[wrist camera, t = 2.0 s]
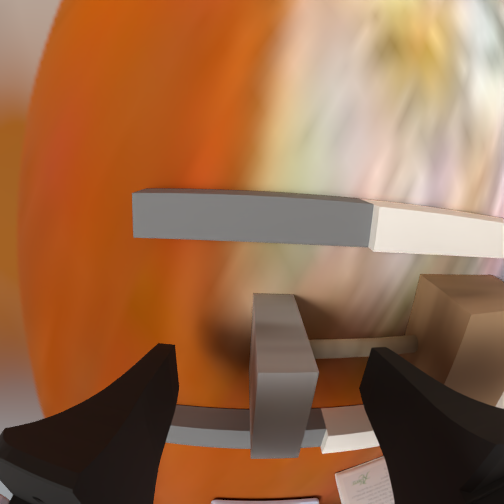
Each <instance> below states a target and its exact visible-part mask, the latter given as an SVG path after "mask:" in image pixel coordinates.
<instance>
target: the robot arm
mask: <svg viewBox="0 0 504 504" xmlns="http://www.w3.org/2000/svg"><path fill="white" fill-rule="evenodd" d="M359 389H360V393H361V397H362V401H363V405H364V409H365V411H366V414H367V416H368V419H369V421H370V424H371V426H372V428H373V431H374V433H375V436H376V438H377V440H378V443H379V445H380V448H381V450H382V452H383V455H384V458H385V461H386V465H387V469H388V473H389V477H390V481H391V486H392V491H393V496H394V502H395V504H504V409H502V408H498V407H495V406H491V405H488V404H485V403H483V402H480V401H477V400H474V399H472V398H470V397H467V396H465V395H463V394H461V393H459V392H457V391H455V390H453V389H451V388H449V387H447V386H445V385H444V384H442V383H440V382H439V381H437V380H435V379H434V378H432V377H431V376H429V375H427V374H426V373H424V372H423V371H421V370H420V369H418V368H417V367H416V366H414V365H413V364H411V363H410V362H408V361H407V360H405V359H404V358H403V357H401V356H400V355H398V354H397V353H395V352H394V351H392V350H390V349H389V348H387V347H374V348H371V351H370V355H369V358H368V362H367V365H366V369H365V372H364V375H363V378H362V382H361V385H360V388H359ZM178 391H179V382H178V373H177V363H176V352H175V345H171V344H160V343H158V344H157V345H156V346H155V347H154V348H153V349H151V350H150V351H149V352H148V353H147V354H146V355H145V356H144V357H143V358H142V359H141V360H140V361H138V362H137V363H136V364H135V365H134V366H133V367H132V368H130V369H129V370H128V371H127V372H126V373H125V374H123V375H122V376H121V377H120V378H118V379H117V380H116V381H114V382H113V383H112V384H111V385H109V386H108V387H106V388H105V389H104V390H102V391H101V392H99V393H97V394H96V395H94V396H93V397H91V398H89V399H87V400H86V401H84V402H82V403H80V404H78V405H76V406H74V407H72V408H70V409H68V410H65V411H63V412H61V413H59V414H56V415H53V416H51V417H48V418H45V419H42V420H39V421H36V422H32V423H28V424H24V425H19V426H15V427H10V428H5V429H4V430H3V432H2V433H1V435H0V480H1V482H2V483H3V484H4V485H5V486H6V487H7V488H8V489H9V490H10V492H11V493H12V494H13V497H12V498H11V500H10V501H9V500H8V499H7V498H6V497H4V496H3V495H1V494H0V504H153V500H154V493H155V485H156V479H157V473H158V467H159V463H160V459H161V455H162V452H163V448H164V445H165V442H166V439H167V435H168V432H169V429H170V426H171V423H172V419H173V416H174V413H175V409H176V403H177V397H178ZM211 504H319V500H318V499H317V498H308V499H295V500H275V501H235V500H213V501H211Z"/></svg>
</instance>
